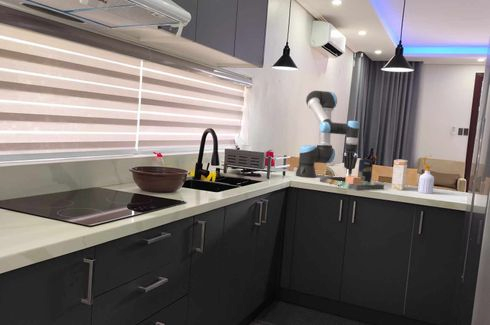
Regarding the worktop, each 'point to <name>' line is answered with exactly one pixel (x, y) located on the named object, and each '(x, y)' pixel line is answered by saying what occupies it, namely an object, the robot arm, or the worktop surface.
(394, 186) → the coffeecake box
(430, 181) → the soap bottle
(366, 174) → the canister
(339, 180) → the trap channel
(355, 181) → the block
